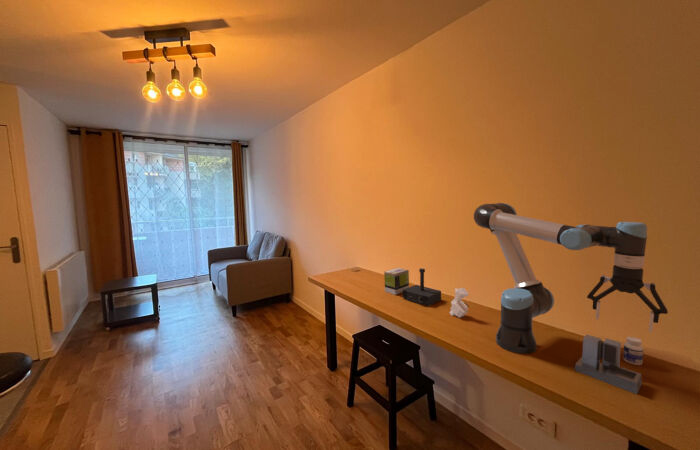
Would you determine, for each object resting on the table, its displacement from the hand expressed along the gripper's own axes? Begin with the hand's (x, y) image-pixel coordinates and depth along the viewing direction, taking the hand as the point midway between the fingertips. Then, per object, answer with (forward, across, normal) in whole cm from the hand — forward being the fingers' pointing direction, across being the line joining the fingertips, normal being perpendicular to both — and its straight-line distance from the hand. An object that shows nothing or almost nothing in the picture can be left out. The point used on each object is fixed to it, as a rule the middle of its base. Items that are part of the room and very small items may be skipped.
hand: (622, 324), depth 100 cm
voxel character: (+19, -63, +5) cm, 66 cm away
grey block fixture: (+17, -2, -9) cm, 20 cm away
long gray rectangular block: (+17, -2, -1) cm, 18 cm away
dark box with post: (+20, -91, +13) cm, 94 cm away
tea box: (+20, -113, +16) cm, 116 cm away
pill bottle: (+18, +3, +11) cm, 21 cm away
